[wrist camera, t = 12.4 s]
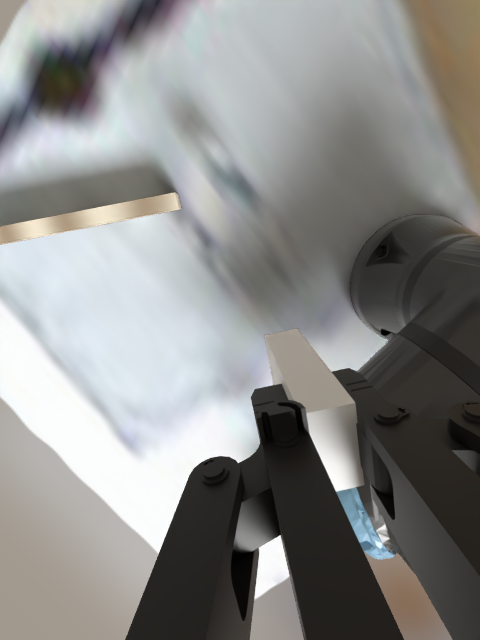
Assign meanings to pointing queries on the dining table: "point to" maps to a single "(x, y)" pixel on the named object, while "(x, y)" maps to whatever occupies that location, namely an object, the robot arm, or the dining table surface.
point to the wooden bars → (89, 218)
